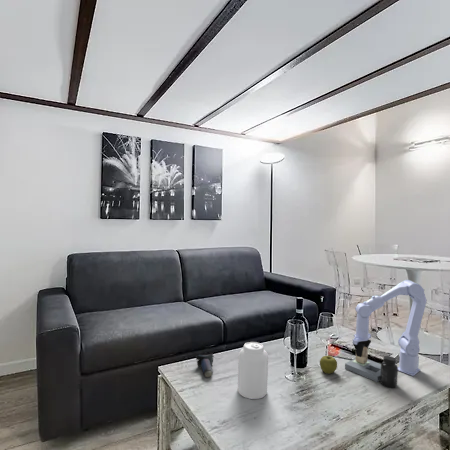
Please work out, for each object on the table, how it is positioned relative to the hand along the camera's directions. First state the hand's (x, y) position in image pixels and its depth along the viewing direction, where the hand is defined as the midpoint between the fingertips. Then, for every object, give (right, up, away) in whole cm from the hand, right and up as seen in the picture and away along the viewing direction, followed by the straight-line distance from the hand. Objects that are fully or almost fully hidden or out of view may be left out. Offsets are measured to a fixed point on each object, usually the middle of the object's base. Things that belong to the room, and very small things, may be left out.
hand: (361, 355), depth 160 cm
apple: (-18, -6, -6) cm, 20 cm away
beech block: (0, -3, 0) cm, 3 cm away
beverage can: (-77, -5, -8) cm, 77 cm away
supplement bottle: (+5, -7, -16) cm, 18 cm away
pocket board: (+2, -6, -3) cm, 7 cm away
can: (-56, -6, -24) cm, 62 cm away
